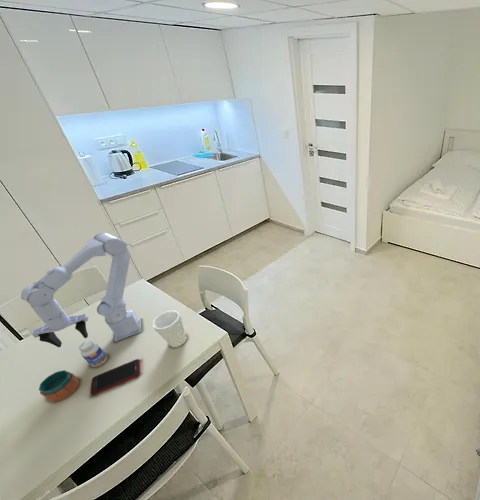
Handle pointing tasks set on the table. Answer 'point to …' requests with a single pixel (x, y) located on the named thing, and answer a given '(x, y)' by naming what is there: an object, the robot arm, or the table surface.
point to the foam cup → (170, 328)
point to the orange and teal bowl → (58, 385)
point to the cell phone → (115, 376)
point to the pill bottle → (92, 353)
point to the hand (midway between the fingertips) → (73, 340)
